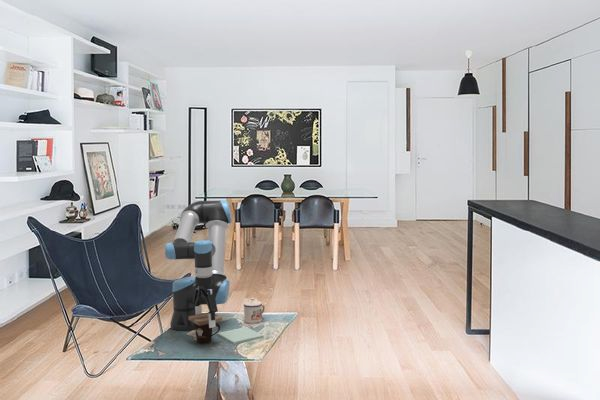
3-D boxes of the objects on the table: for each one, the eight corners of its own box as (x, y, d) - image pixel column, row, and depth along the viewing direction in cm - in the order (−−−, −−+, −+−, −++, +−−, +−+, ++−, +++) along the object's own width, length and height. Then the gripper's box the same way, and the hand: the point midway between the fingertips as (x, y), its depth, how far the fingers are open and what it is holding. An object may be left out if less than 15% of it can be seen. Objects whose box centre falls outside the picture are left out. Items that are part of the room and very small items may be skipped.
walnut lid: (188, 319, 259) (188, 316, 259) (211, 315, 265) (211, 311, 265) (199, 325, 250) (199, 322, 250) (222, 320, 256) (222, 317, 256)
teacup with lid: (252, 325, 282) (251, 301, 281) (240, 321, 289) (239, 298, 288) (270, 319, 291) (270, 296, 290) (258, 316, 297) (258, 293, 296)
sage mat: (217, 335, 268) (217, 333, 268) (246, 328, 277) (245, 326, 276) (234, 344, 255) (234, 342, 255) (263, 337, 263) (263, 335, 263)
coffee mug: (190, 341, 260) (189, 319, 259) (207, 337, 266) (206, 315, 265) (205, 348, 251) (204, 325, 250) (221, 343, 257) (221, 320, 256)
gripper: (184, 272, 264) (185, 318, 265) (208, 282, 243) (210, 332, 245) (199, 270, 268) (201, 316, 270) (224, 279, 248) (226, 328, 249)
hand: (205, 323), depth 257 cm, fingers open, 13 cm apart
